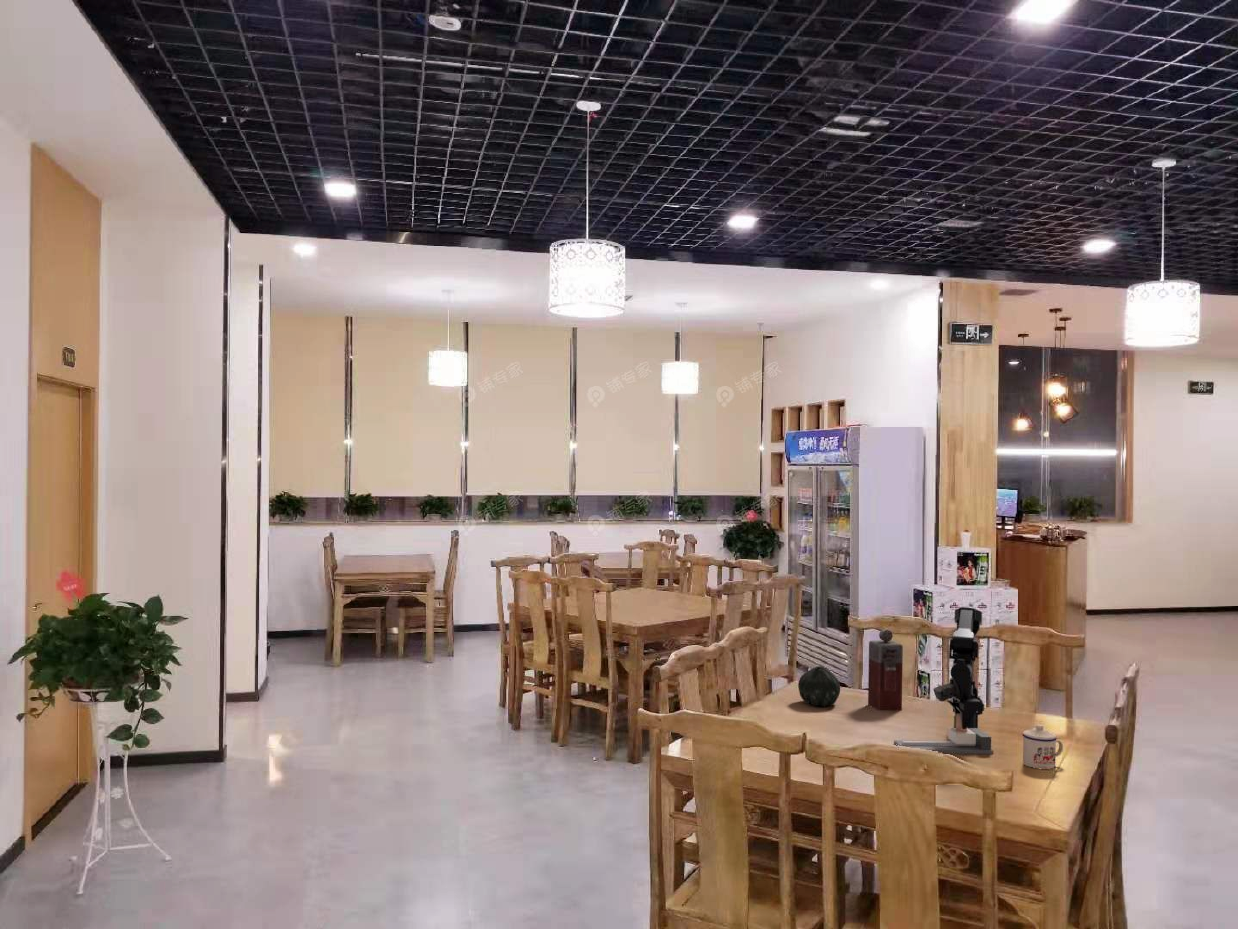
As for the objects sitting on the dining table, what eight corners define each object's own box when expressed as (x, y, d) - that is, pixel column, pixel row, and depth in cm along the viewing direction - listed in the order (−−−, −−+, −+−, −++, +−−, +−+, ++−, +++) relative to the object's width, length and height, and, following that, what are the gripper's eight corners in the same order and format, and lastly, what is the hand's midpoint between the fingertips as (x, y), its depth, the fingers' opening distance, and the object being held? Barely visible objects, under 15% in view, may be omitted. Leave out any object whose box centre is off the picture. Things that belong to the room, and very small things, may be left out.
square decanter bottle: (881, 712, 334) (883, 632, 334) (867, 704, 345) (868, 627, 345) (905, 711, 336) (906, 632, 336) (890, 704, 347) (891, 627, 347)
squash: (820, 682, 357) (804, 655, 350) (853, 691, 345) (837, 663, 338) (800, 711, 350) (784, 684, 343) (833, 721, 338) (817, 693, 332)
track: (979, 744, 296) (979, 728, 296) (993, 753, 286) (993, 737, 286) (894, 743, 295) (894, 727, 295) (904, 753, 285) (905, 736, 285)
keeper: (967, 738, 294) (967, 711, 294) (975, 744, 288) (976, 717, 288) (948, 738, 294) (948, 711, 294) (956, 744, 287) (956, 717, 287)
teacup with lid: (1034, 771, 270) (1035, 730, 270) (1015, 761, 279) (1016, 721, 279) (1072, 769, 272) (1072, 728, 272) (1052, 759, 281) (1052, 720, 281)
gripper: (926, 669, 300) (925, 719, 300) (948, 683, 281) (947, 735, 281) (960, 670, 300) (960, 719, 300) (985, 683, 282) (984, 736, 281)
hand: (961, 727), depth 291 cm, fingers closed on keeper, 3 cm apart
